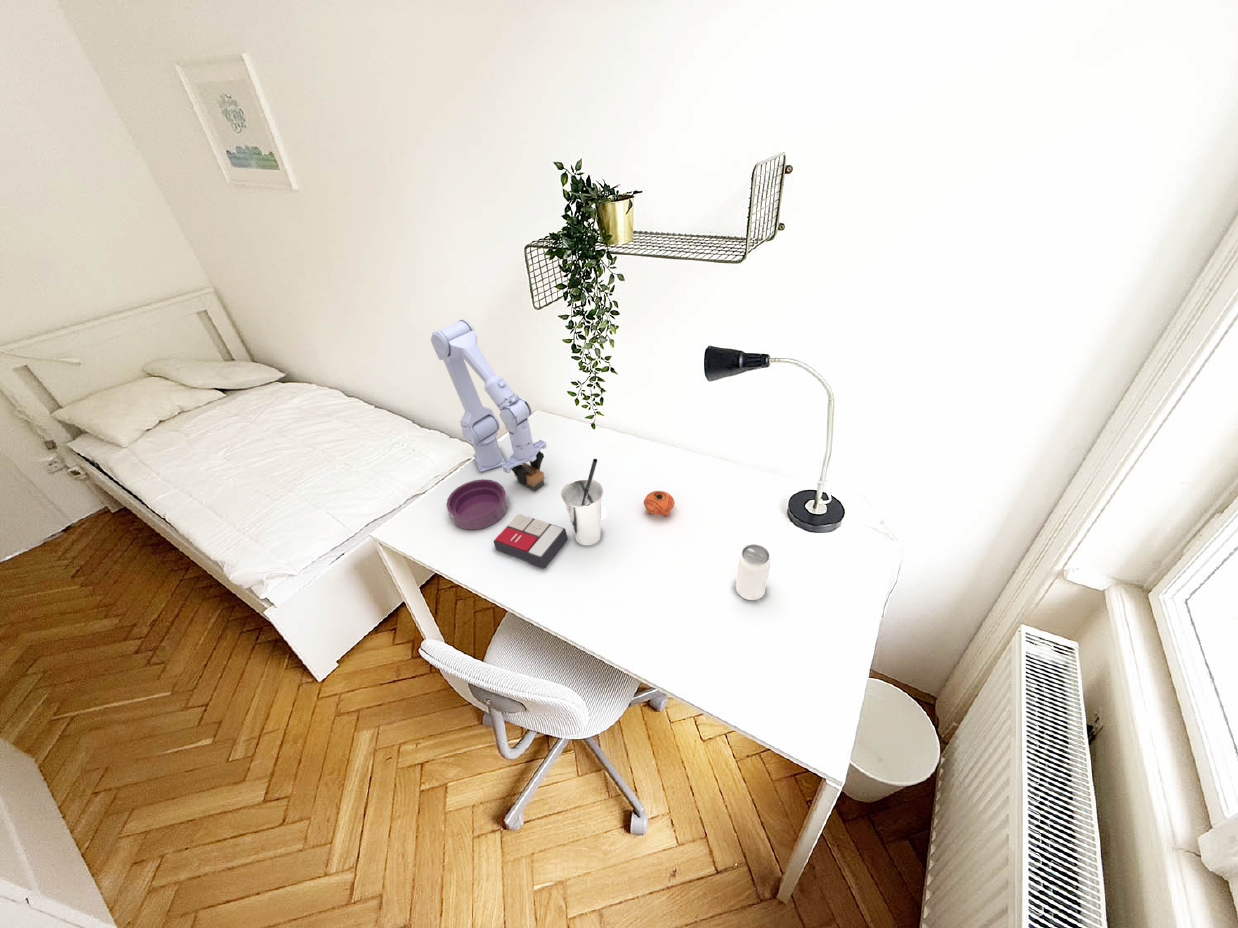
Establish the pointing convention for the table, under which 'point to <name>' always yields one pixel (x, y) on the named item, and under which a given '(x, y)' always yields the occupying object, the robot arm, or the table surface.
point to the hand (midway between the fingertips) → (529, 478)
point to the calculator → (531, 540)
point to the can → (752, 572)
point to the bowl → (477, 504)
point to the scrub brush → (533, 477)
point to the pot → (659, 503)
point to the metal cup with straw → (584, 507)
